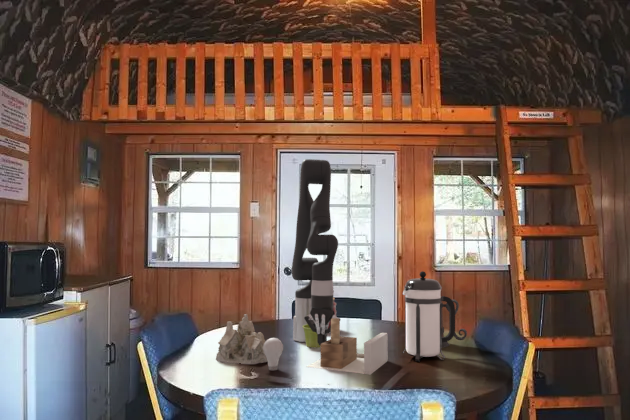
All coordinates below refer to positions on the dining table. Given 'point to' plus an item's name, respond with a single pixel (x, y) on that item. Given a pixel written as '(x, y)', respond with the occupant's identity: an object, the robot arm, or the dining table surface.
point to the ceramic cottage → (241, 344)
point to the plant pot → (310, 337)
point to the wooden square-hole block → (339, 353)
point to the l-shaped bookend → (365, 357)
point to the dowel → (335, 331)
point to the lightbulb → (273, 352)
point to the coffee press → (425, 317)
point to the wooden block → (360, 355)
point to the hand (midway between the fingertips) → (322, 345)
